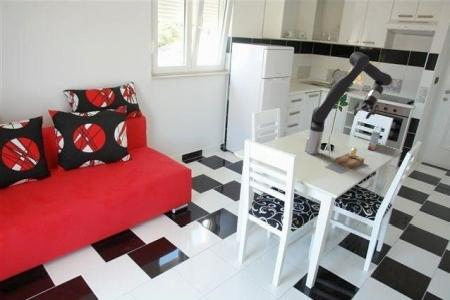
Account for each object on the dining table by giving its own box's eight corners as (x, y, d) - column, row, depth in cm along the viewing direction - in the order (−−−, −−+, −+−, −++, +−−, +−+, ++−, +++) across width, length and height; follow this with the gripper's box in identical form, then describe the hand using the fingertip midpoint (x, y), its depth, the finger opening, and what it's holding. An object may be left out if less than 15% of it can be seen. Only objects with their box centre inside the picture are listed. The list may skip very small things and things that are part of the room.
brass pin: (348, 162, 219) (351, 148, 216) (350, 161, 221) (353, 147, 217) (352, 163, 217) (355, 150, 213) (354, 162, 219) (357, 149, 215)
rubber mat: (324, 167, 207) (324, 167, 207) (332, 164, 214) (332, 163, 213) (340, 174, 199) (341, 173, 199) (348, 170, 205) (348, 170, 205)
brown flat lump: (334, 163, 215) (335, 158, 214) (347, 157, 227) (348, 153, 226) (350, 169, 207) (352, 164, 206) (363, 163, 219) (364, 158, 218)
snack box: (374, 151, 244) (379, 132, 238) (367, 149, 246) (371, 131, 240) (377, 143, 261) (382, 126, 255) (370, 142, 263) (374, 124, 258)
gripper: (361, 92, 220) (349, 110, 217) (381, 97, 210) (369, 116, 207) (362, 99, 225) (351, 117, 222) (382, 104, 216) (371, 122, 213)
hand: (360, 116), depth 215 cm, fingers open, 8 cm apart
